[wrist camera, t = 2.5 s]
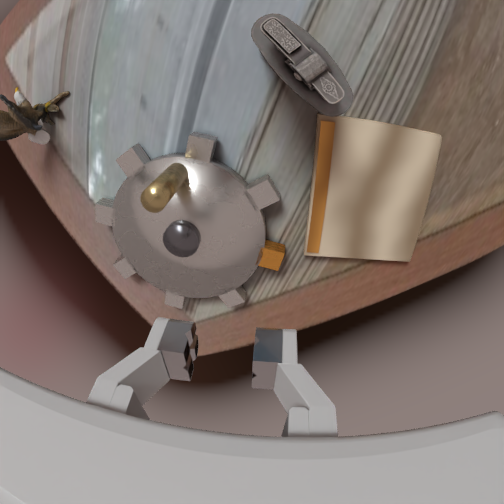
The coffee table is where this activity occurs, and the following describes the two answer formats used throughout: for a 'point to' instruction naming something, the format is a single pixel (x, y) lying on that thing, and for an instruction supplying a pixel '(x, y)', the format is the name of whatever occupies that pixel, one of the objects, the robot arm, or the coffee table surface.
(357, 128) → the pad
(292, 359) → the robot arm
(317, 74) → the lighter
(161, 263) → the sprocket
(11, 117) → the eagle figurine
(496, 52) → the coffee table surface
